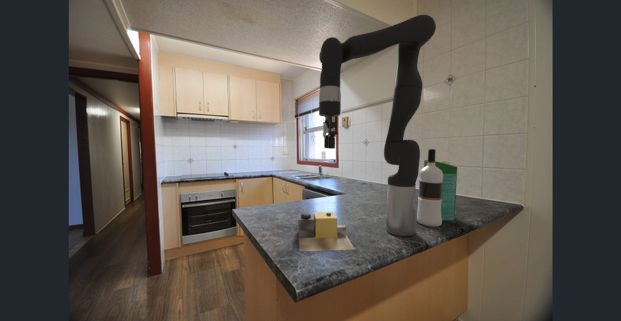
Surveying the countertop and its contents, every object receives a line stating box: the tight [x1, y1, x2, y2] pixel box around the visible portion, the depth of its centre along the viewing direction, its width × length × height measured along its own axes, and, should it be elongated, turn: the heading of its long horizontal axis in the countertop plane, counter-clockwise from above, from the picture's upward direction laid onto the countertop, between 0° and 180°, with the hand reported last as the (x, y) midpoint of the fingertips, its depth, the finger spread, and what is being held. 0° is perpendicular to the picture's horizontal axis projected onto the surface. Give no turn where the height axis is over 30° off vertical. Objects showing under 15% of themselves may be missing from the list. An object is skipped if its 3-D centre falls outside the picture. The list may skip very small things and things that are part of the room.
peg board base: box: [297, 212, 356, 252], centre depth 67 cm, size 16×16×8 cm
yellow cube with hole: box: [313, 211, 338, 238], centre depth 70 cm, size 7×6×7 cm
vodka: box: [417, 148, 443, 228], centre depth 83 cm, size 9×9×30 cm
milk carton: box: [423, 159, 458, 221], centre depth 91 cm, size 9×9×25 cm
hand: (329, 148), depth 73 cm, fingers open, 8 cm apart
